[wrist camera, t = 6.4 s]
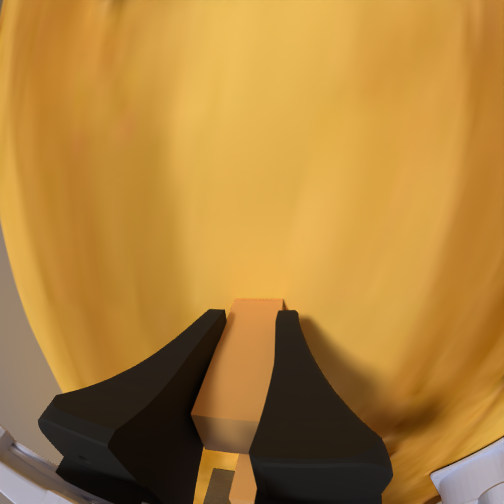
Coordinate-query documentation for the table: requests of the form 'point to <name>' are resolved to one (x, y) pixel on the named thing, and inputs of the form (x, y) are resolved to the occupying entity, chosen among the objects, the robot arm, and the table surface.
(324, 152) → the table surface
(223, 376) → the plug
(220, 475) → the housing
